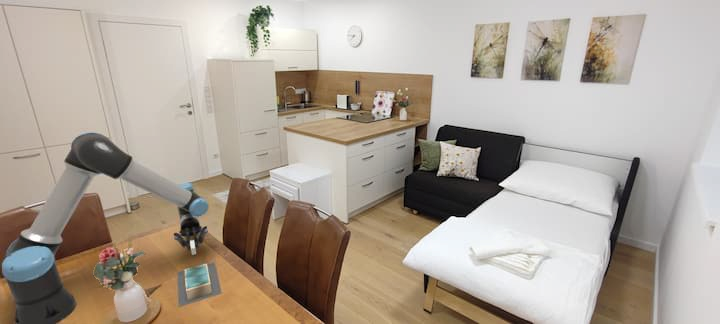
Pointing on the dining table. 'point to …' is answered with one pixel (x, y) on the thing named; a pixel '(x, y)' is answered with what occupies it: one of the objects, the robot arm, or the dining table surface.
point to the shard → (151, 290)
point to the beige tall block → (197, 281)
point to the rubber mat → (215, 291)
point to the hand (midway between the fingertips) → (193, 251)
